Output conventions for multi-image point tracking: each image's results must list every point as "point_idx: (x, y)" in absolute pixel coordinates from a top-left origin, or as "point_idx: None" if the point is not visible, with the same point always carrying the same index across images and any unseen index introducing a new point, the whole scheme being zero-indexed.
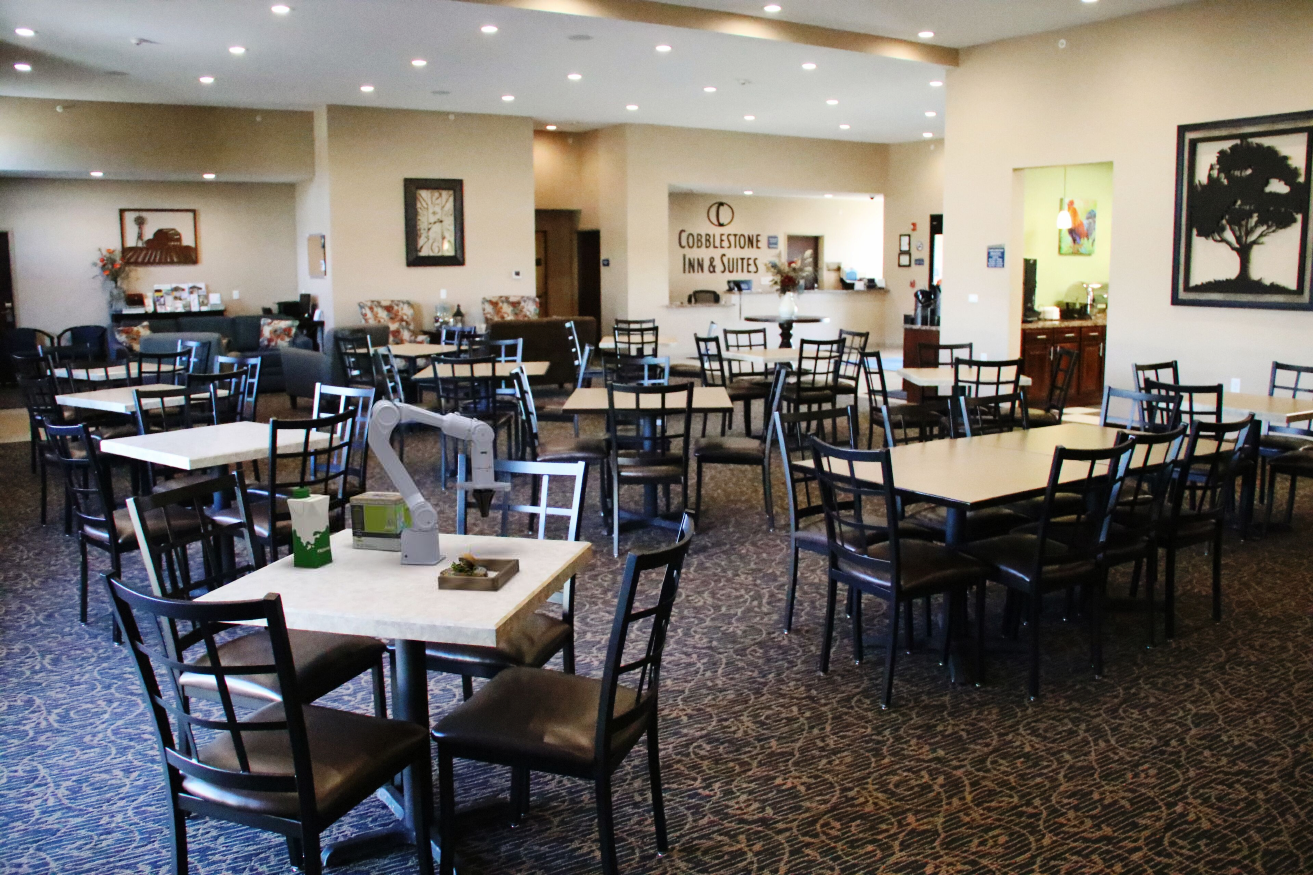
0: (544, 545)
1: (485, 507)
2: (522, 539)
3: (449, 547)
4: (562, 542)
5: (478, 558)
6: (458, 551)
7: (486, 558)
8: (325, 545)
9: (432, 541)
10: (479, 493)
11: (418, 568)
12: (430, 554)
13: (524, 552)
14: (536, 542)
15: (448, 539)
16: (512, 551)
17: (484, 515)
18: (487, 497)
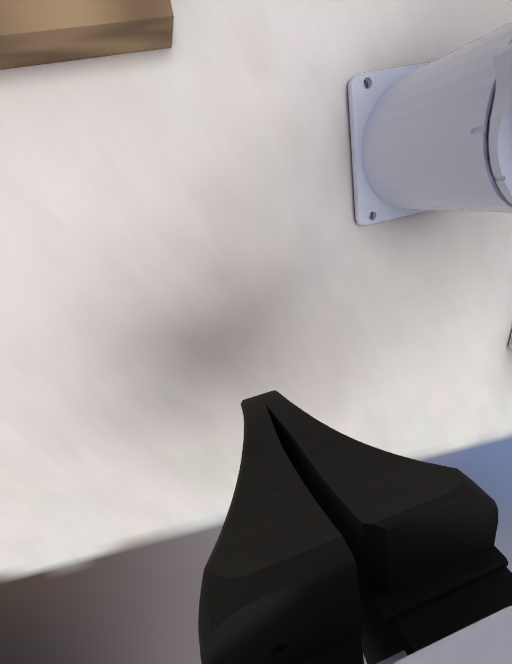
0: (80, 507)
1: (254, 444)
2: (210, 520)
3: (396, 349)
4: (42, 560)
5: (63, 17)
6: (345, 318)
7: (6, 30)
8: None
9: (440, 83)
10: (385, 552)
11: (394, 2)
12: (399, 88)
13: (86, 406)
14: (138, 518)
15: (432, 420)
16: (145, 398)
17: (254, 402)
18: (234, 539)
